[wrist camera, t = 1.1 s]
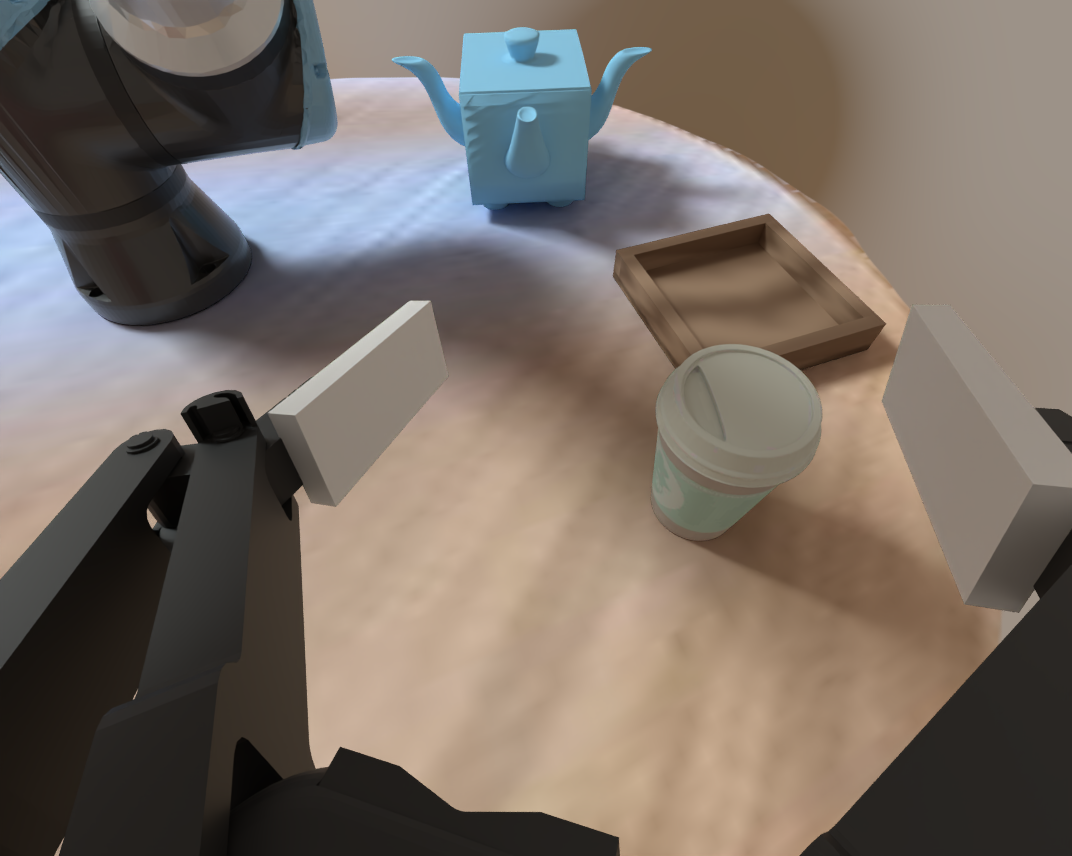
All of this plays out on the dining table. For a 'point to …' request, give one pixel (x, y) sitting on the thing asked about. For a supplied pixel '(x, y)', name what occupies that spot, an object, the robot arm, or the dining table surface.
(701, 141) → the dining table surface
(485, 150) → the teakettle
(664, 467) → the coffee cup
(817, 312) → the wooden tray
